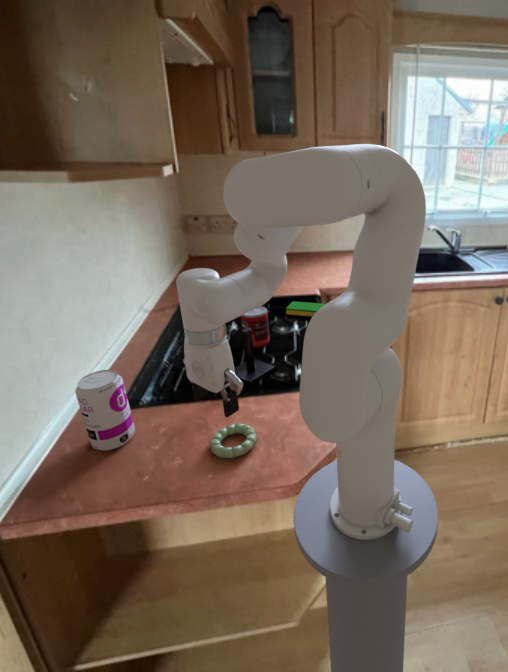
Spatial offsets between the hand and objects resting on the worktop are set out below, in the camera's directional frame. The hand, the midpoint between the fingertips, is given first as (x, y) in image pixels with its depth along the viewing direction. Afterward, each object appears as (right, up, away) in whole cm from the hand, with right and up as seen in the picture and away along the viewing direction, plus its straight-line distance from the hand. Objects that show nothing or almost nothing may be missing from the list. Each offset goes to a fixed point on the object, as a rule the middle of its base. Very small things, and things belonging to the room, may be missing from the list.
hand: (216, 404), depth 86 cm
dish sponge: (+10, +15, +65) cm, 67 cm away
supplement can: (-23, -8, +2) cm, 24 cm away
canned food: (-3, +7, +43) cm, 44 cm away
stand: (0, +1, +26) cm, 26 cm away
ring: (+3, -8, 0) cm, 8 cm away
